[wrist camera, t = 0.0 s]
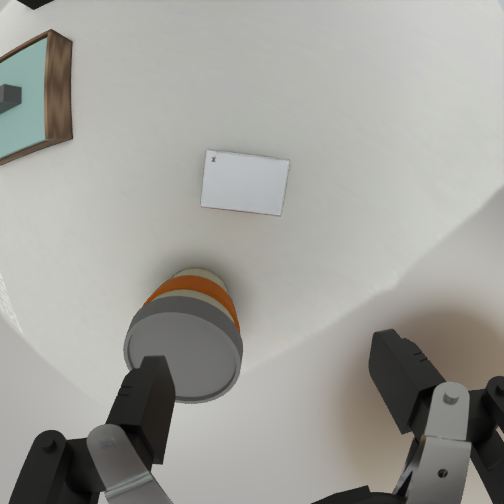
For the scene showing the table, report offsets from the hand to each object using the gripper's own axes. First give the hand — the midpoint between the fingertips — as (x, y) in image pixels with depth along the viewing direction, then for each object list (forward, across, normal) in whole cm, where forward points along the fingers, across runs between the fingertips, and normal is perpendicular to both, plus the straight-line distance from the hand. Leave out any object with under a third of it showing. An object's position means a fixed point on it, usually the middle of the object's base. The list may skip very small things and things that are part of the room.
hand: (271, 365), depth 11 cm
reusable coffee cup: (+30, +8, +11) cm, 33 cm away
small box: (+30, 0, -5) cm, 30 cm away
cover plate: (+24, +31, -22) cm, 45 cm away
